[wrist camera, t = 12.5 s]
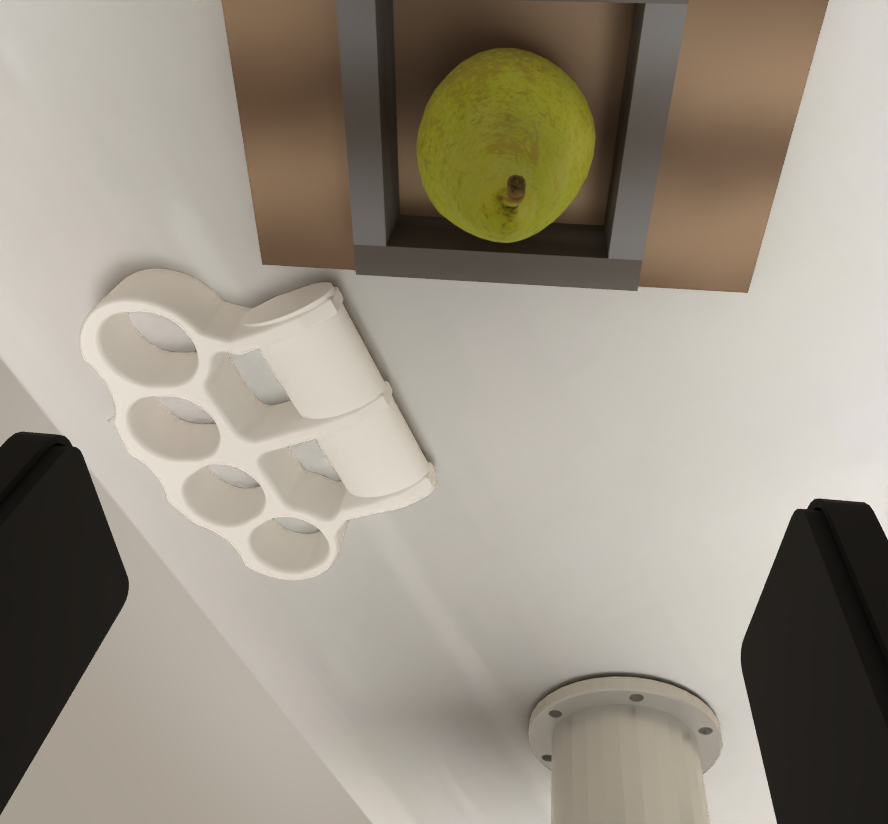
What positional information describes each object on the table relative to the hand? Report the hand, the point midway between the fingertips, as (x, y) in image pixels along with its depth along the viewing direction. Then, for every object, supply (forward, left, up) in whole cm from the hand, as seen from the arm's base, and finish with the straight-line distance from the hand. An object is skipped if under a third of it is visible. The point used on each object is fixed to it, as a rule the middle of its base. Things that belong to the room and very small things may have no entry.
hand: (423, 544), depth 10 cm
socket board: (0, 0, -22) cm, 22 cm away
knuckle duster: (-15, +12, -23) cm, 30 cm away
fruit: (0, 0, -21) cm, 21 cm away
